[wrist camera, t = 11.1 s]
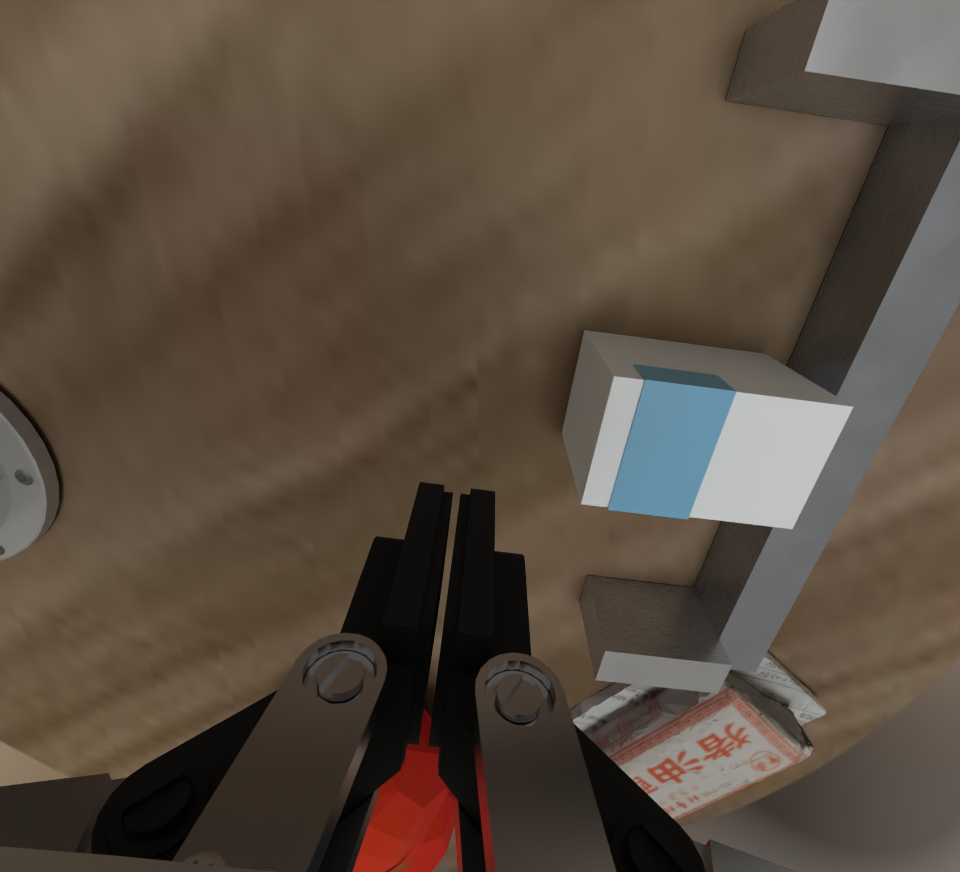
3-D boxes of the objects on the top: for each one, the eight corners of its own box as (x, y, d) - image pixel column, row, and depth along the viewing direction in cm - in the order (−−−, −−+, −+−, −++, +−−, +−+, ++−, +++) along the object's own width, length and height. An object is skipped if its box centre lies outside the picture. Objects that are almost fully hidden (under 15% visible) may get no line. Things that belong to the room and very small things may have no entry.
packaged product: (611, 879, 33) (506, 820, 31) (598, 800, 38) (504, 742, 35) (865, 768, 27) (764, 681, 24) (814, 688, 32) (723, 607, 29)
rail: (579, 602, 28) (595, 679, 24) (746, 30, 17) (838, -28, 12) (726, 618, 29) (770, 699, 24) (991, 68, 17) (1169, 25, 12)
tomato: (286, 755, 35) (215, 951, 26) (305, 633, 30) (222, 828, 21) (439, 782, 37) (420, 981, 27) (484, 669, 31) (480, 870, 22)
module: (561, 433, 24) (581, 506, 18) (584, 328, 21) (615, 375, 16) (724, 453, 24) (793, 532, 18) (764, 351, 22) (856, 406, 16)
